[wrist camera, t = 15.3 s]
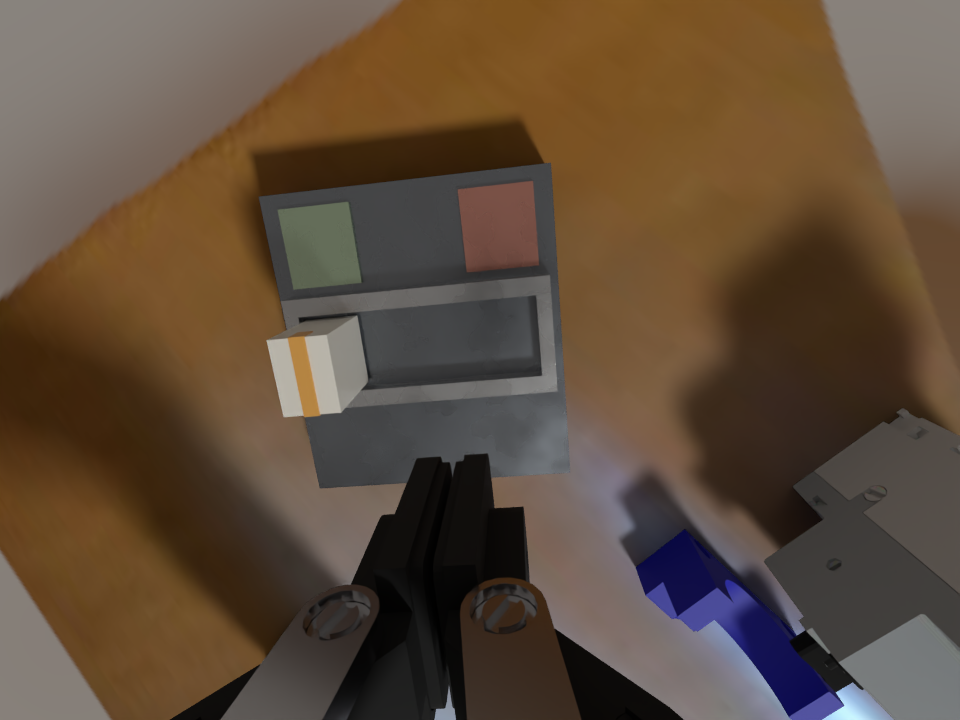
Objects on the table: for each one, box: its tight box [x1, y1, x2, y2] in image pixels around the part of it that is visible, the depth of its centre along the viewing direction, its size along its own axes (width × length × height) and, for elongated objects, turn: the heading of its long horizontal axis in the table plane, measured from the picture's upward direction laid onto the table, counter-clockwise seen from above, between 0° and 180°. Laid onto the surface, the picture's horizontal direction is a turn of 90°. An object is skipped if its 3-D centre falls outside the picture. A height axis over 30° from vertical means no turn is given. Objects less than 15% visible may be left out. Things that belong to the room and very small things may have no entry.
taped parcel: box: [267, 315, 368, 417], centre depth 27 cm, size 4×3×5 cm
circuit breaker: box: [764, 408, 960, 720], centre depth 27 cm, size 8×14×15 cm, turn 135°
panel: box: [259, 163, 570, 488], centre depth 31 cm, size 18×16×4 cm
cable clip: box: [636, 529, 844, 720], centre depth 34 cm, size 12×4×6 cm, turn 47°
